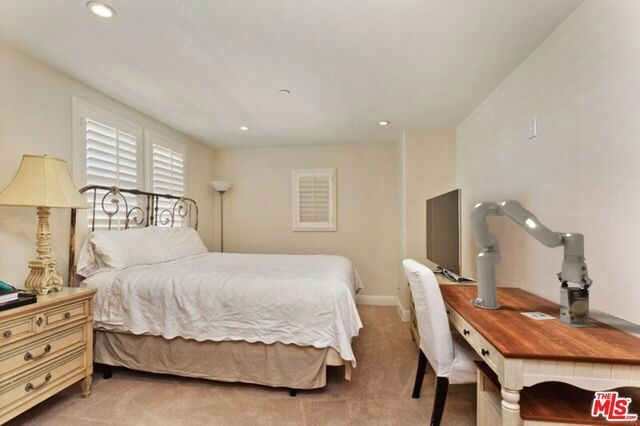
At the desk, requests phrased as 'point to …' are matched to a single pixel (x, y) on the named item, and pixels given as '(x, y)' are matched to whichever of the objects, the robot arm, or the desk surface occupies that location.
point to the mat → (578, 324)
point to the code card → (538, 316)
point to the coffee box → (574, 306)
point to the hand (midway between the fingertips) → (573, 294)
